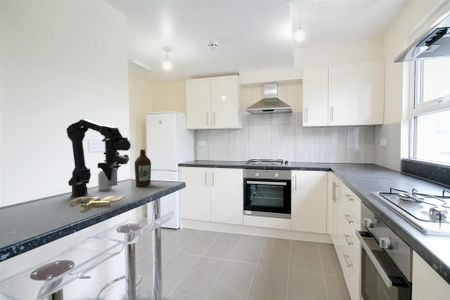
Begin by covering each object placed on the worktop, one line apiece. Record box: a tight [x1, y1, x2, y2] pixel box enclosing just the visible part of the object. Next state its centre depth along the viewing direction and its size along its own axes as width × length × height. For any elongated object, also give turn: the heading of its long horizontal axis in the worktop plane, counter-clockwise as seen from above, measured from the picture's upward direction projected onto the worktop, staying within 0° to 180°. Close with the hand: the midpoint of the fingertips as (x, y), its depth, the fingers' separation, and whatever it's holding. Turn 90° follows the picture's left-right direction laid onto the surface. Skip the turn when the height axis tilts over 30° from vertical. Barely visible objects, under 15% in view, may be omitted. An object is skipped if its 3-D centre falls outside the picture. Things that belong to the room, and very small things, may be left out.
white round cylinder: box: [107, 168, 118, 187], centre depth 118 cm, size 5×5×9 cm
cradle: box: [69, 196, 101, 206], centre depth 111 cm, size 11×8×2 cm
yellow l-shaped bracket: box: [79, 201, 111, 212], centre depth 103 cm, size 9×9×3 cm
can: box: [97, 170, 113, 192], centre depth 141 cm, size 8×8×12 cm
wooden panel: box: [100, 195, 125, 202], centre depth 119 cm, size 9×9×1 cm
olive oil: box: [134, 149, 152, 188], centre depth 151 cm, size 11×11×25 cm
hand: (111, 179), depth 118 cm, fingers closed on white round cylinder, 5 cm apart
